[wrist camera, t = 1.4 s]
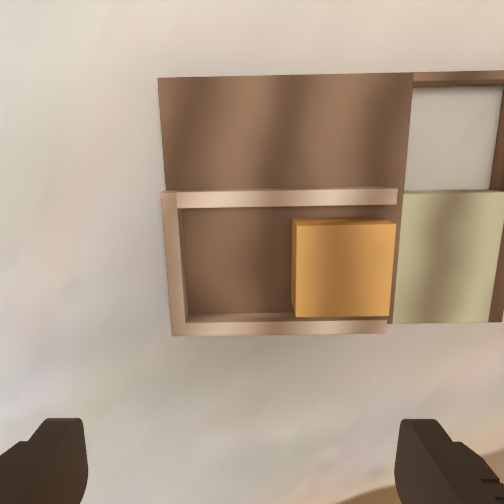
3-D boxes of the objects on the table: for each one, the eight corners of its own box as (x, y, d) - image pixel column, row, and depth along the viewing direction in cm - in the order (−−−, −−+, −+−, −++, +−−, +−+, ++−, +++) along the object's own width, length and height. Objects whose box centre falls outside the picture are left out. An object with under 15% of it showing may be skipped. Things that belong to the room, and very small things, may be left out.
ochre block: (379, 216, 25) (396, 224, 22) (373, 298, 26) (388, 315, 23) (291, 217, 25) (296, 225, 22) (291, 299, 26) (295, 317, 23)
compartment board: (520, 76, 24) (563, 63, 21) (484, 311, 29) (515, 331, 25) (165, 84, 25) (150, 72, 21) (181, 315, 29) (172, 336, 25)
